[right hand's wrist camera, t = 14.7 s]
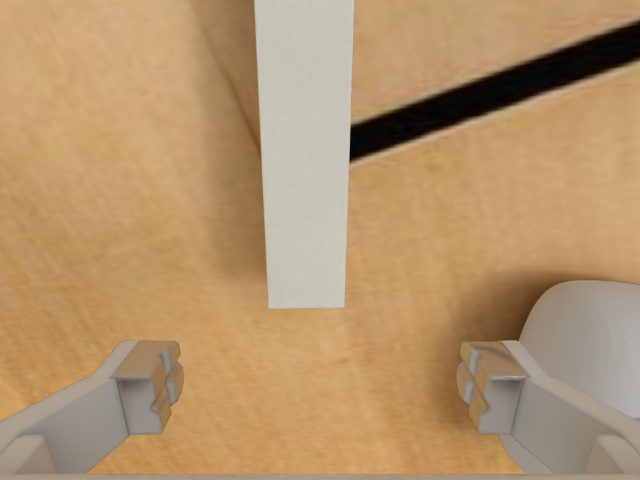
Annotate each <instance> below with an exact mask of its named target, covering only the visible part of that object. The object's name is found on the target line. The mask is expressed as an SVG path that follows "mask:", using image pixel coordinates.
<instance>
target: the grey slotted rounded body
mask: <svg viewBox="0 0 640 480" xmlns="http://www.w3.org/2000/svg"><path fill="white" fill-rule="evenodd" d="M518 342H520V343H521V344H522V345H523V346H524V348H525V349H526V350H527V351H528V352H529V353H530V355H531V356H532V357H533V358H534V359H535V360H536V362H537V363H538V364H539V365H540V366H541V367H542V369H543V370H544V371H545V372H546V373H547V374H548V376H549V377H550V378H557V379H559V380H561V381H563V382H565V383H567V384H568V385H570V386H572V387H574V388H576V389H578V390H580V391H582V392H584V393H586V394H588V395H590V396H591V397H593V398H595V399H597V400H599V401H601V402H603V403H605V404H607V405H609V406H611V407H613V408H614V409H616V410H618V411H620V412H622V413H624V414H626V415H628V416H630V417H632V418H634V419H636V420H638V421H639V422H640V285H638V284H632V283H623V282H615V281H602V280H574V281H567V282H563V283H559V284H557V285H555V286H553V287H551V288H550V289H548V290H547V291H546V292H545V293H544V294H543V295H542V296H541V297H540V298H539V299H538V301H537V302H536V304H535V305H534V307H533V308H532V310H531V312H530V314H529V316H528V318H527V320H526V323H525V325H524V328H523V330H522V333H521V335H520V338H519V341H518ZM498 436H499V439H500V441H501V444H502V446H503V447H504V449H505V451H506V452H507V454H508V455H509V457H510V458H511V459H512V460H513V462H514V463H515V464H516V465H517V466H518V467H519V468H520V469H521V470H522V471H523V472H524V473H526V474H554V473H553V472H552V471H551V470H549V469H548V468H547V467H546V466H545V465H544V464H542V463H541V462H540V461H539V460H538V459H537V458H536V457H534V456H533V455H532V454H531V453H530V452H529V451H527V450H526V449H525V448H524V447H523V446H522V445H520V444H519V443H518V442H517V441H516V440H515V439H513V438H512V437H511V435H498Z"/></svg>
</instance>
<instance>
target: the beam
mask: <svg viewBox="0 0 640 480" xmlns="http://www.w3.org/2000/svg"><path fill="white" fill-rule="evenodd" d="M254 11H255V33H256V54H257V76H258V97H259V119H260V141H261V162H262V184H263V205H264V227H265V249H266V270H267V292H268V308H269V309H284V308H344V303H345V272H346V241H347V210H348V179H349V148H350V117H351V86H352V55H353V24H354V0H254Z"/></svg>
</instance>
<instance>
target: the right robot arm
mask: <svg viewBox="0 0 640 480" xmlns="http://www.w3.org/2000/svg"><path fill="white" fill-rule="evenodd" d="M180 354H181V353H180V348H179V344H178V343H177V342H176V341H143V340H142V341H140V340H125V341H122V342H120V343H119V344H118V345H117V346H116V347H115V349H114V350H113V351H112V352H111V353H110V355H109V356H108V357H107V358H106V359H105V360H104V362H103V363H102V364H101V365H100V366H99V367H98V369H97V370H96V371H95V372H94V373H93V374H92V376H91V377H90V378H83V379H81V380H79V381H77V382H75V383H73V384H72V385H70V386H68V387H66V388H64V389H62V390H60V391H58V392H56V393H54V394H52V395H50V396H48V397H47V398H45V399H43V400H41V401H39V402H37V403H35V404H33V405H31V406H29V407H27V408H25V409H23V410H22V411H20V412H18V413H16V414H14V415H12V416H10V417H8V418H6V419H4V420H2V421H0V480H640V422H639V421H638V420H636V419H634V418H632V417H630V416H628V415H626V414H624V413H622V412H620V411H618V410H616V409H614V408H613V407H611V406H609V405H607V404H605V403H603V402H601V401H599V400H597V399H595V398H593V397H591V396H590V395H588V394H586V393H584V392H582V391H580V390H578V389H576V388H574V387H572V386H570V385H568V384H567V383H565V382H563V381H561V380H559V379H557V378H550V377H549V376H548V374H547V373H546V372H545V371H544V370H543V369H542V367H541V366H540V365H539V364H538V363H537V362H536V360H535V359H534V358H533V357H532V356H531V355H530V353H529V352H528V351H527V350H526V349H525V348H524V346H523V345H522V344H521V343H520V342H518V341H516V340H506V341H474V342H462V344H461V347H460V353H459V354H460V356H461V358H462V360H463V361H462V362H461V363H460V364H459V366H458V367H457V374H456V381H457V388H458V392H459V395H460V397H461V399H462V401H463V402H464V403H466V404H467V405H469V406H470V408H469V416H470V418H471V420H472V422H473V424H474V426H475V428H476V430H477V432H478V434H496V435H511V437H512V438H513V439H515V440H516V441H517V442H518V443H519V444H520V445H522V446H523V447H524V448H525V449H526V450H527V451H529V452H530V453H531V454H532V455H533V456H534V457H536V458H537V459H538V460H539V461H540V462H541V463H542V464H544V465H545V466H546V467H547V468H548V469H549V470H551V471H552V472H553V473H554V474H86V473H87V472H88V471H90V470H91V469H92V468H93V467H94V466H95V465H96V464H98V463H99V462H100V461H101V460H102V459H103V458H105V457H106V456H107V455H108V454H109V453H110V452H112V451H113V450H114V449H115V448H116V447H117V446H119V445H120V444H121V443H122V442H123V441H124V440H126V439H127V438H128V437H129V435H143V434H162V432H163V430H164V428H165V426H166V424H167V422H168V420H169V418H170V416H171V408H170V406H171V405H173V404H174V403H176V402H177V401H178V399H179V397H180V395H181V392H182V387H183V383H184V372H183V367H182V366H181V364H180V363H179V362H178V361H177V360H178V358H179V356H180Z"/></svg>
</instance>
